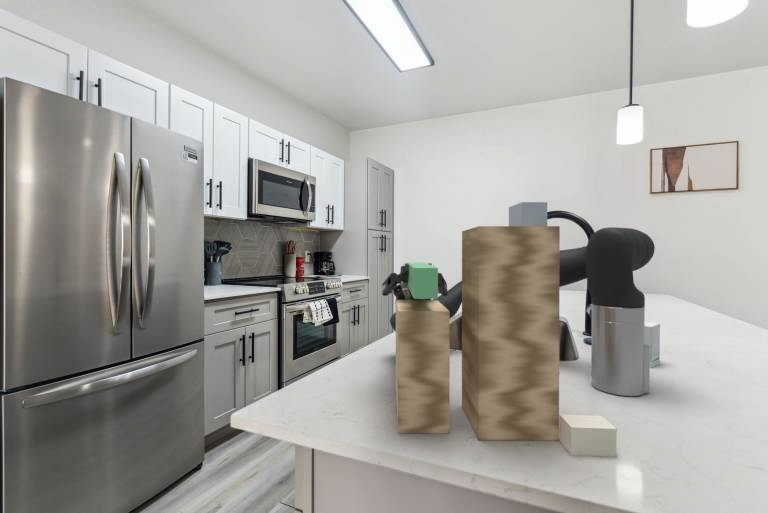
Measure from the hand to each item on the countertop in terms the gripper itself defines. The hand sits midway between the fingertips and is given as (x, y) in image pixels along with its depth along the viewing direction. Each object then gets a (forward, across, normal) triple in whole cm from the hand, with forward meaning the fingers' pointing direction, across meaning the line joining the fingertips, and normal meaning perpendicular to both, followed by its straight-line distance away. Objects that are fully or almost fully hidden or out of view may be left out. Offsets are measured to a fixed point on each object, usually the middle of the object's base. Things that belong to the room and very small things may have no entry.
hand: (418, 267), depth 65 cm
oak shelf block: (-8, -14, -25) cm, 29 cm away
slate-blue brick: (+8, -18, +3) cm, 20 cm away
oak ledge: (-10, 0, -23) cm, 25 cm away
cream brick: (-1, -23, -29) cm, 37 cm away
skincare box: (-37, -58, -8) cm, 69 cm away
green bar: (0, 0, -5) cm, 5 cm away
